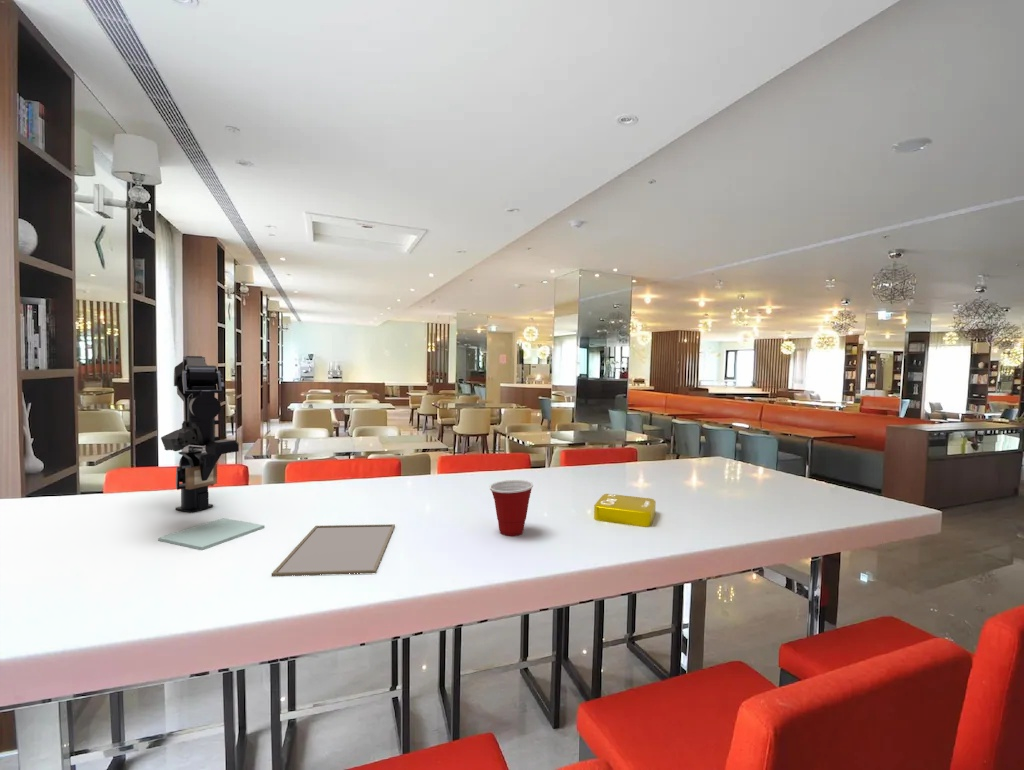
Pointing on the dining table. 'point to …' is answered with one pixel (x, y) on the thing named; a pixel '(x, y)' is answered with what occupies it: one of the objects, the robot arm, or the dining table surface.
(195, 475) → the brown wooden block
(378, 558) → the picture frame
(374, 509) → the dining table surface
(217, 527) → the mat
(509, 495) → the plastic cup
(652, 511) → the element tile
